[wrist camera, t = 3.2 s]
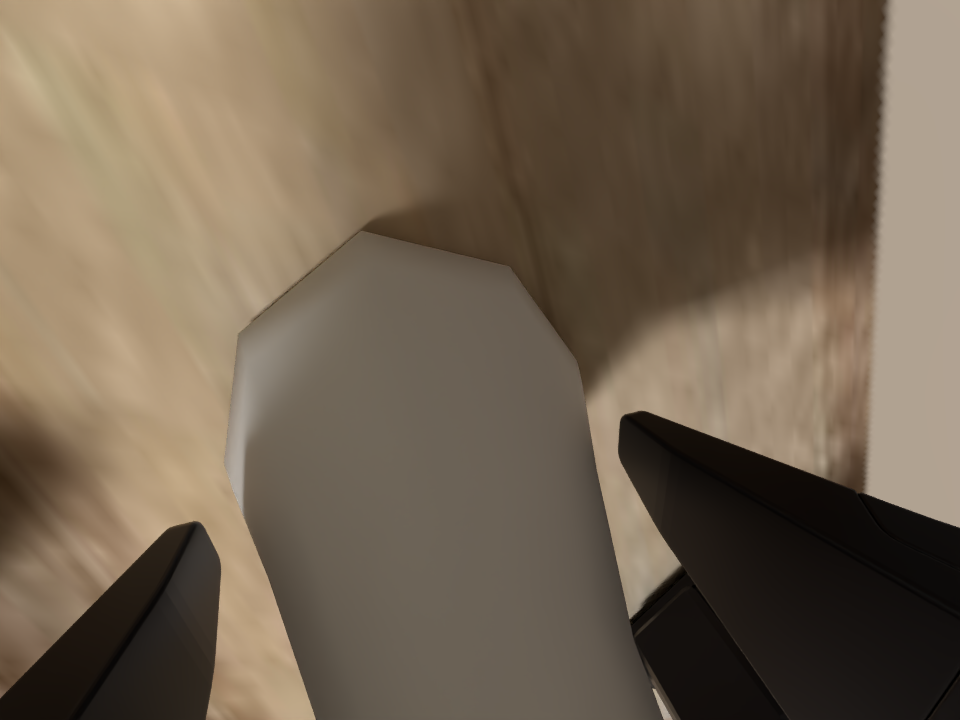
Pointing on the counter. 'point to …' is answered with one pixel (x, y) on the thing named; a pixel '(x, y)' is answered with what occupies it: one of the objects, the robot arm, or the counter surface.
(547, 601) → the flask
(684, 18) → the counter surface
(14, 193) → the counter surface
